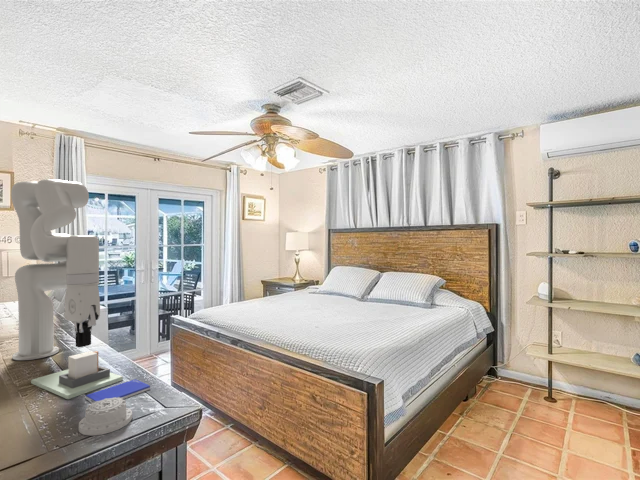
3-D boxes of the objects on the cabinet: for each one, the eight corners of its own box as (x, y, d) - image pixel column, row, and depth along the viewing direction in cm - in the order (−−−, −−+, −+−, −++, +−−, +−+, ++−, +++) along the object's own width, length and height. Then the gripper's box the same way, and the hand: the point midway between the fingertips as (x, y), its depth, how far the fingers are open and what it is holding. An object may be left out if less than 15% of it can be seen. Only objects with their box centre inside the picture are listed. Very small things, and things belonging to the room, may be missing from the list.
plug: (68, 382, 95) (68, 356, 95) (93, 374, 101) (93, 350, 101) (75, 385, 93) (75, 359, 93) (101, 377, 99) (100, 352, 99)
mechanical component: (66, 434, 72) (107, 439, 70) (66, 412, 72) (107, 417, 70) (104, 411, 82) (142, 415, 80) (104, 392, 82) (142, 396, 80)
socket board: (31, 383, 97) (31, 372, 97) (85, 367, 109) (85, 357, 109) (67, 399, 87) (67, 387, 87) (122, 379, 99) (122, 369, 99)
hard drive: (134, 378, 98) (85, 394, 88) (150, 385, 93) (99, 403, 83) (134, 384, 98) (85, 400, 88) (150, 391, 93) (99, 409, 83)
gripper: (54, 279, 97) (54, 345, 97) (82, 282, 90) (83, 353, 90) (83, 277, 104) (83, 339, 104) (112, 279, 96) (112, 346, 96)
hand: (83, 345), depth 97 cm, fingers closed
